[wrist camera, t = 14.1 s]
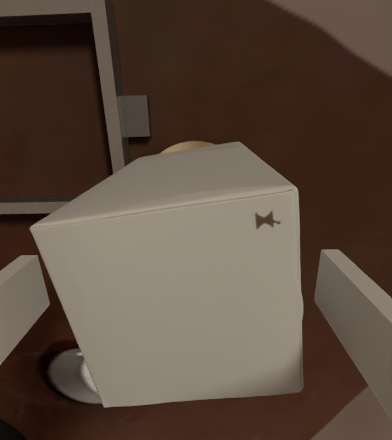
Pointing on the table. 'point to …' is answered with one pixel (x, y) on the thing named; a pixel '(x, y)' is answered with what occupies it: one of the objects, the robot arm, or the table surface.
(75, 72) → the table surface
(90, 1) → the grey frame with tab
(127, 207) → the supplement box
